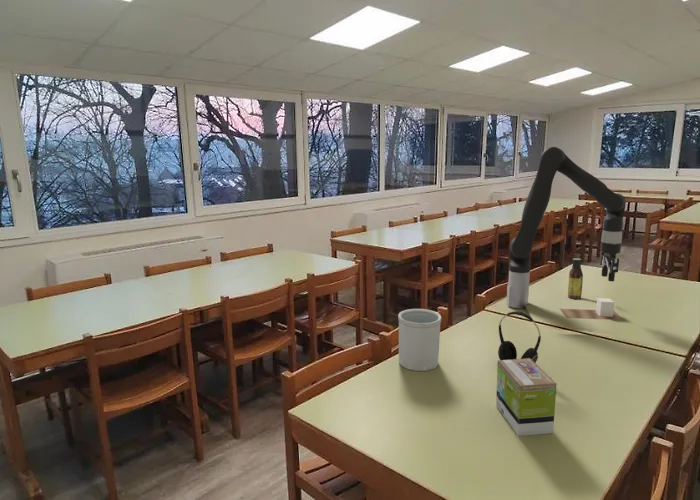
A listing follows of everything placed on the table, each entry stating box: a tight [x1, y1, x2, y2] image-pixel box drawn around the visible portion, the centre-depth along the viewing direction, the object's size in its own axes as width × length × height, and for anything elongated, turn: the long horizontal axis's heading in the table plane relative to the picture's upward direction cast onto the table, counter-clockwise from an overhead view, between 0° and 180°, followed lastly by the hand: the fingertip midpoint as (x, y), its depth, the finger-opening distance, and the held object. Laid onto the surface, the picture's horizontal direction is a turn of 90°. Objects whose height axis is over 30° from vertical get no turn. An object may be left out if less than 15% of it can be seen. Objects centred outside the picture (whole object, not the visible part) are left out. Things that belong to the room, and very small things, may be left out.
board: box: [559, 308, 625, 321], centre depth 202 cm, size 23×12×2 cm, turn 80°
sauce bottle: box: [567, 257, 584, 300], centre depth 228 cm, size 6×6×20 cm
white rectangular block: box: [595, 297, 615, 317], centre depth 201 cm, size 5×5×7 cm
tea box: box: [495, 358, 557, 437], centre depth 125 cm, size 15×10×15 cm, turn 5°
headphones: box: [497, 310, 542, 364], centre depth 154 cm, size 9×15×20 cm, turn 43°
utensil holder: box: [397, 308, 442, 372], centre depth 160 cm, size 15×15×18 cm
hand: (607, 278), depth 198 cm, fingers open, 7 cm apart
